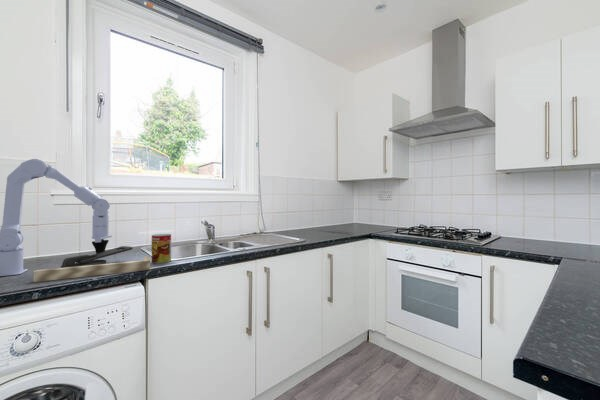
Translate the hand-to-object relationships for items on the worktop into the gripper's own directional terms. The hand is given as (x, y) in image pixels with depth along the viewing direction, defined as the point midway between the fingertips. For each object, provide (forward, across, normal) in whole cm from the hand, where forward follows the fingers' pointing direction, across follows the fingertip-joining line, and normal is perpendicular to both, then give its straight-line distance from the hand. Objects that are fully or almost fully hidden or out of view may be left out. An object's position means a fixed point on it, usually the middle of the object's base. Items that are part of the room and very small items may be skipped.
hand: (100, 257), depth 120 cm
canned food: (+3, -9, -24) cm, 25 cm away
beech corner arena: (+3, -18, -2) cm, 19 cm away
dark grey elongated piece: (+3, -6, 0) cm, 7 cm away
